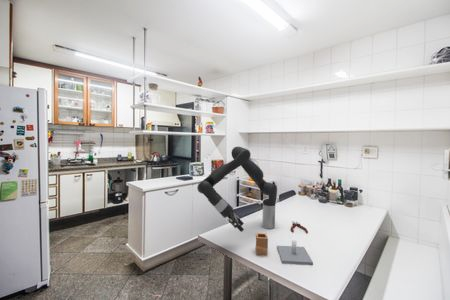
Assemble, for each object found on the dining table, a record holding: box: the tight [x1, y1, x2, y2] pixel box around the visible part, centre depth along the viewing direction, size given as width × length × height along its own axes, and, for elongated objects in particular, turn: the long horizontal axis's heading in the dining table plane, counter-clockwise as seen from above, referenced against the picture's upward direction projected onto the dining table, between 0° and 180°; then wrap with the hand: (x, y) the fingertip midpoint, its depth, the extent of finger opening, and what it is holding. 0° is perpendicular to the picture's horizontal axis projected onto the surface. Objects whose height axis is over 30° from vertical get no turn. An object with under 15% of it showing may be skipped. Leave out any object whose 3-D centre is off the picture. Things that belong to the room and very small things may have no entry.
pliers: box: [290, 220, 309, 234], centre depth 160 cm, size 12×20×3 cm, turn 173°
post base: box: [276, 239, 314, 266], centre depth 120 cm, size 16×16×8 cm
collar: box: [255, 232, 269, 256], centre depth 124 cm, size 6×6×10 cm
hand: (242, 227), depth 124 cm, fingers open, 8 cm apart
